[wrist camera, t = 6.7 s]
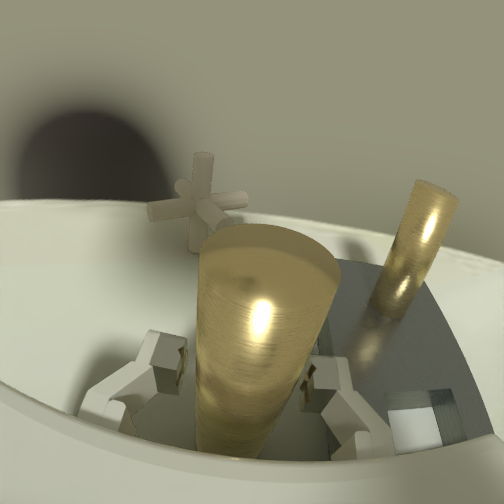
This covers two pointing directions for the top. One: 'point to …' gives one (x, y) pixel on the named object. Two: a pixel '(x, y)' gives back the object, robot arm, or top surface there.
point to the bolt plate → (405, 328)
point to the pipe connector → (199, 203)
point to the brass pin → (255, 330)
